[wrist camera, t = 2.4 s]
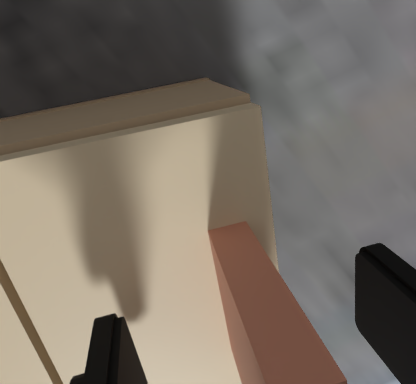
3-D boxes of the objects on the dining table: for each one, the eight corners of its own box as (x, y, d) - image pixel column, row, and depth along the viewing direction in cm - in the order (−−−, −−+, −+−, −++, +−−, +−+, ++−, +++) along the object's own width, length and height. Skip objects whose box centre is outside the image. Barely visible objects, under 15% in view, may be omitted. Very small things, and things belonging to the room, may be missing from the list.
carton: (204, 76, 17) (251, 91, 10) (236, 268, 22) (284, 374, 15) (-133, 144, 16) (-374, 221, 8) (-19, 335, 20) (-108, 490, 13)
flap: (251, 102, 10) (412, 169, 4) (284, 377, 14) (379, 591, 9) (-29, 161, 9) (-336, 351, 3) (101, 431, 14) (71, 708, 8)
